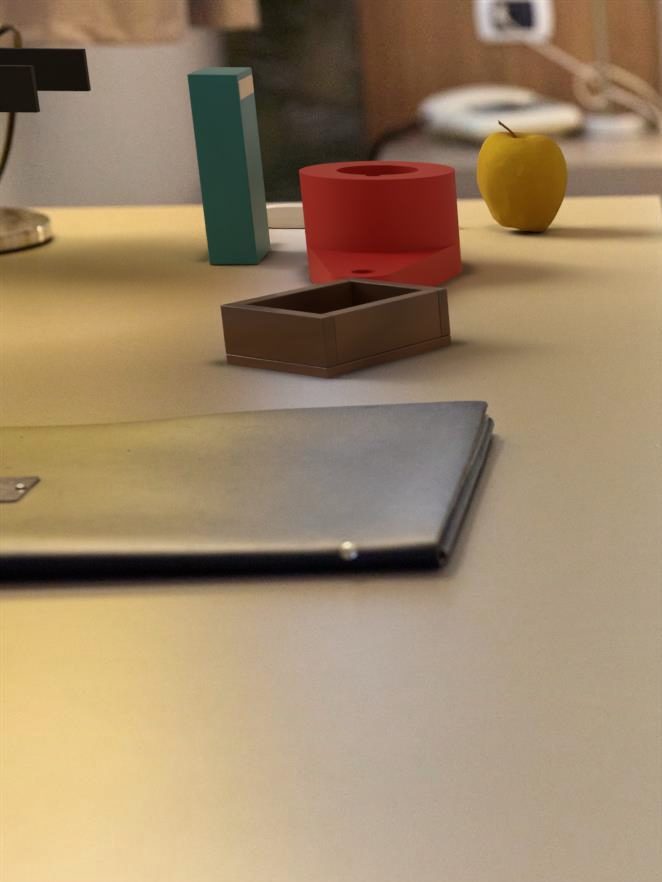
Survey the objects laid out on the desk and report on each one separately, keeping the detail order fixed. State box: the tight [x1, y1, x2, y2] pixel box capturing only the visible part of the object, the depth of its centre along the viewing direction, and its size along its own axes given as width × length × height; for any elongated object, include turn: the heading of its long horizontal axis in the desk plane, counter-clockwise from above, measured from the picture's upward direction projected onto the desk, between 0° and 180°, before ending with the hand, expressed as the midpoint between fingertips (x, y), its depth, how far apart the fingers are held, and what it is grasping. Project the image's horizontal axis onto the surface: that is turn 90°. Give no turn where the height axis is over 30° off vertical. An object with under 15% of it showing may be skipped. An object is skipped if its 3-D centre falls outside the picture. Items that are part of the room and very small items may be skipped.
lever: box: [298, 160, 463, 287], centre depth 121 cm, size 18×9×7 cm, turn 10°
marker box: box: [186, 66, 272, 266], centre depth 129 cm, size 6×3×12 cm, turn 11°
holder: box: [220, 277, 452, 380], centre depth 102 cm, size 10×7×3 cm
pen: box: [266, 203, 305, 229], centre depth 143 cm, size 2×14×2 cm, turn 98°
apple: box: [476, 119, 568, 233], centre depth 142 cm, size 6×6×8 cm
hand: (63, 79), depth 125 cm, fingers open, 13 cm apart
